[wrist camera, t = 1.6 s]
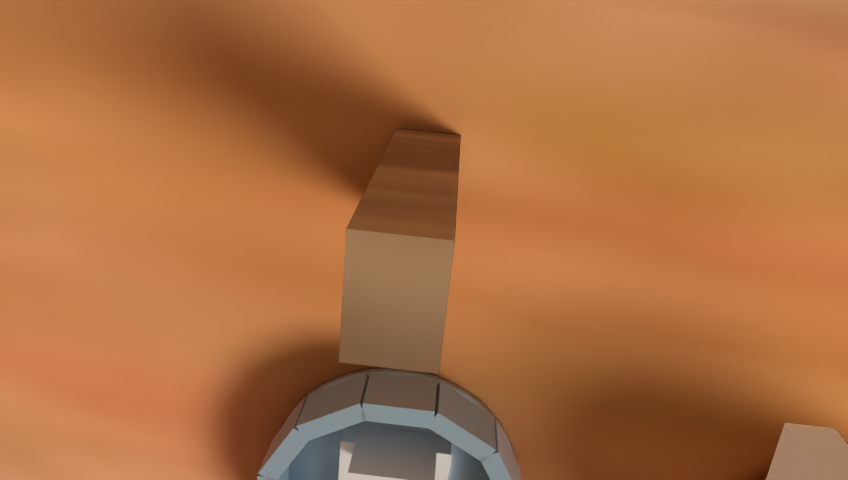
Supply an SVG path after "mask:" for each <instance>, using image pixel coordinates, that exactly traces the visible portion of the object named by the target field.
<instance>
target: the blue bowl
mask: <svg viewBox="0 0 848 480" xmlns="http://www.w3.org/2000/svg"><path fill="white" fill-rule="evenodd" d="M257 480H522V474H521V468H520V466H519V464H518V462H517V460H516V458H515V454H514V450H513V447H512V444H511V442H510V439H509V437H508V435H507V433H506V431H505V430H504V428H503V426H502V424H501V423H500V422H499V420H498V419H497V418H496V416H495V415H494V414H493V413H492V411H491V410H490V409H489V408H487V407H486V406H485V405H484V404H483V403H482V402H481V401H480V400H479V399H478V398H476V397H475V396H473V395H472V394H471V393H469V392H468V391H467V390H465V389H463V388H461V387H460V386H458V385H456V384H454V383H452V382H450V381H447V380H445V379H443V378H440V377H438V376H435V375H431V374H428V373H424V372H419V371H410V370H402V369H393V368H376V369H367V370H362V371H356V372H352V373H349V374H346V375H342V376H339V377H337V378H335V379H333V380H330V381H328V382H326V383H324V384H323V385H321V386H319V387H318V388H316V389H314V390H313V391H312V392H310V393H309V394H308V395H307V396H306V397H304V398H303V399H302V400H301V401H300V402H299V403H298V404H297V406H296V407H295V408H294V409H293V410H292V411H291V413H290V414H289V416H288V417H287V419H286V421H285V422H284V425H283V427H282V428H281V429H280V430H279V432H278V433H277V434H276V436H275V437H274V438H273V440H272V442H271V444H270V447H269V449H268V451H267V454H266V456H265V458H264V461H263V463H262V465H261V468H260V470H259V472H258V475H257Z"/></svg>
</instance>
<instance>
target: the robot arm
mask: <svg viewBox="0 0 848 480" xmlns="http://www.w3.org/2000/svg"><path fill="white" fill-rule="evenodd" d="M766 480H848V444H847V443H846V441H845V440H844V439H843V438H842V437H841V435H840V434H839V433H838V432H837V431H836V429H835V428H828V427H819V426H811V425H802V424H793V423H785V424H784V427H783V430H782V433H781V436H780V439H779V442H778V445H777V448H776V451H775V454H774V457H773V460H772V463H771V466H770V469H769V471H768V474H767V477H766Z"/></svg>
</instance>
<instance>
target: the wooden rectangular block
mask: <svg viewBox="0 0 848 480" xmlns="http://www.w3.org/2000/svg"><path fill="white" fill-rule="evenodd" d="M460 139H461V135H456V134H446V133H437V132H428V131H419V130H409V129H400V128H396V130H395V132H394V134H393V136H392V138H391V140H390V142H389V144H388V146H387V148H386V150H385V152H384V154H383V156H382V158H381V160H380V162H379V164H378V166H377V168H376V170H375V172H374V174H373V176H372V178H371V180H370V182H369V184H368V186H367V188H366V190H365V192H364V194H363V196H362V198H361V200H360V202H359V204H358V206H357V208H356V210H355V212H354V214H353V216H352V218H351V220H350V222H349V224H348V226H347V228H346V244H345V262H344V279H343V296H342V314H341V331H340V348H339V362H342V363H350V364H359V365H367V366H376V367H385V368H393V369H402V370H410V371H419V372H428V373H436V374H439V369H440V361H441V352H442V344H443V336H444V327H445V319H446V311H447V302H448V294H449V286H450V277H451V269H452V261H453V252H454V244H455V229H456V211H457V193H458V175H459V157H460Z"/></svg>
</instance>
